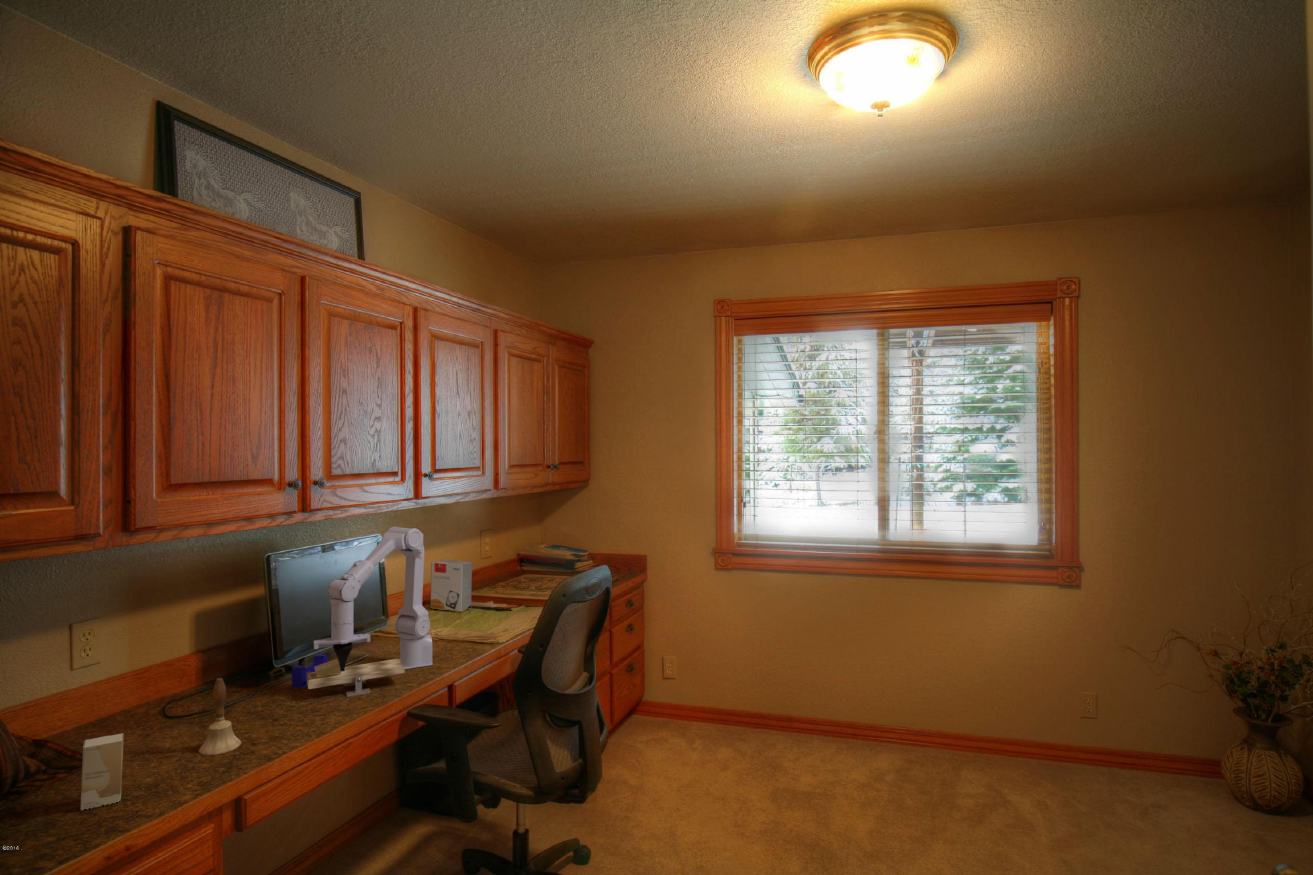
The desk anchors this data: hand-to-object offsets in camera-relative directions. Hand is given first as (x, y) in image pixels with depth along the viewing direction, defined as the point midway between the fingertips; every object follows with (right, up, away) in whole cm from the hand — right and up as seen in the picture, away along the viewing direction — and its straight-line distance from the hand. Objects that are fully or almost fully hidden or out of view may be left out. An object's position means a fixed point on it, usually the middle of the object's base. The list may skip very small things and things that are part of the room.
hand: (342, 670), depth 196 cm
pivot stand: (+3, -6, +2) cm, 7 cm away
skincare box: (-20, -6, -60) cm, 64 cm away
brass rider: (-3, -1, -2) cm, 3 cm away
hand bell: (-12, -6, -36) cm, 38 cm away
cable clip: (-14, -6, +9) cm, 18 cm away
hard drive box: (+3, -6, +94) cm, 94 cm away
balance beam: (+3, -2, +2) cm, 4 cm away
